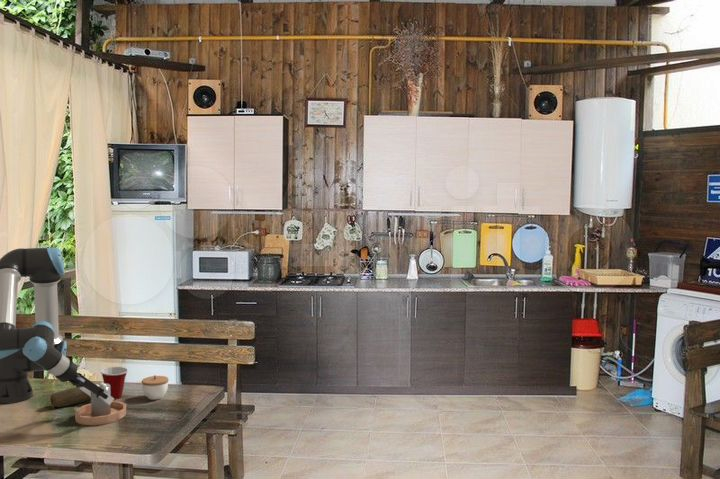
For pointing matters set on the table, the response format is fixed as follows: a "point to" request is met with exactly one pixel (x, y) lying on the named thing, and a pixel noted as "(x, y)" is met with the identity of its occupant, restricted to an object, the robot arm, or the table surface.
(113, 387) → the plastic cup
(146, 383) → the lidded jar
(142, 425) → the table surface
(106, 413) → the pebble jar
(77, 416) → the terracotta bowl
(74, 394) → the stone weight
